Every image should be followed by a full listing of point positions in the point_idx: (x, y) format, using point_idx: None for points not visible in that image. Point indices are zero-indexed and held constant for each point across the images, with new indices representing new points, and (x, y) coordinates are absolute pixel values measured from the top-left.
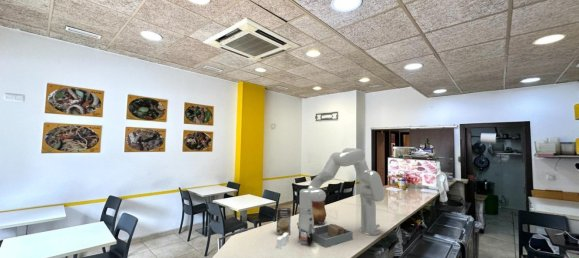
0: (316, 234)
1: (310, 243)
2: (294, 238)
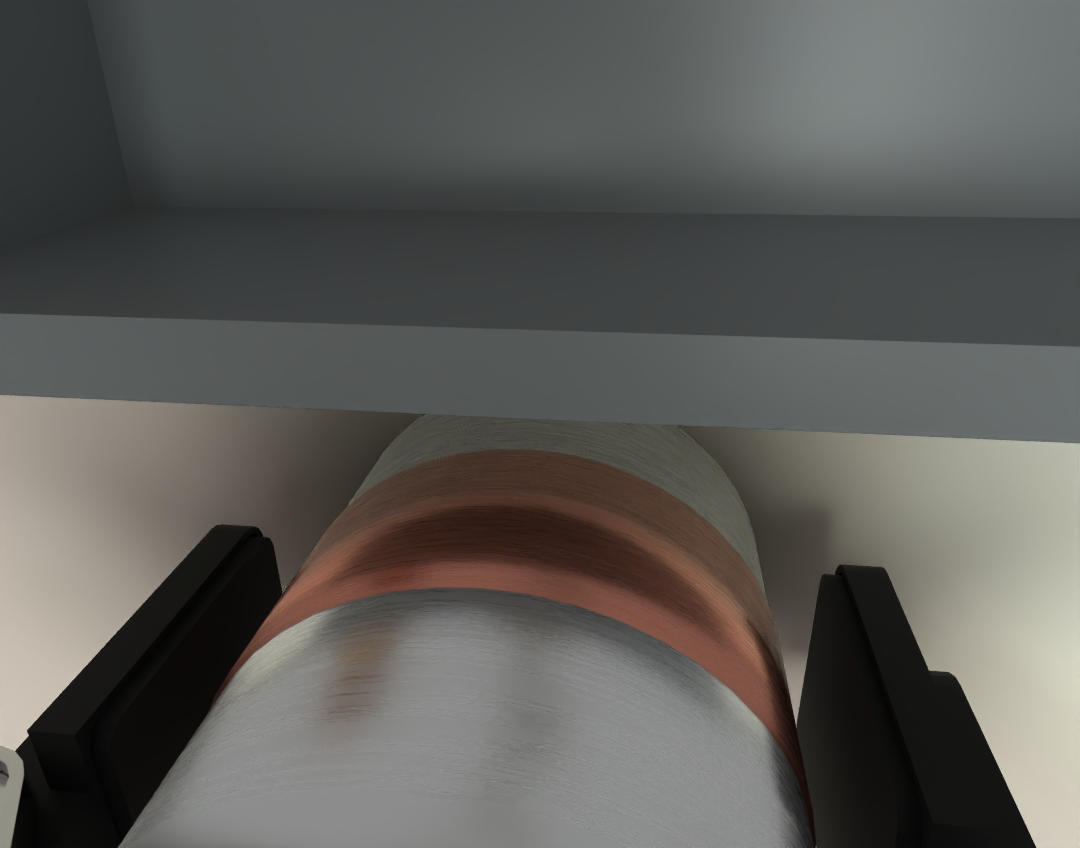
0: (935, 357)
1: (746, 523)
2: (32, 600)
